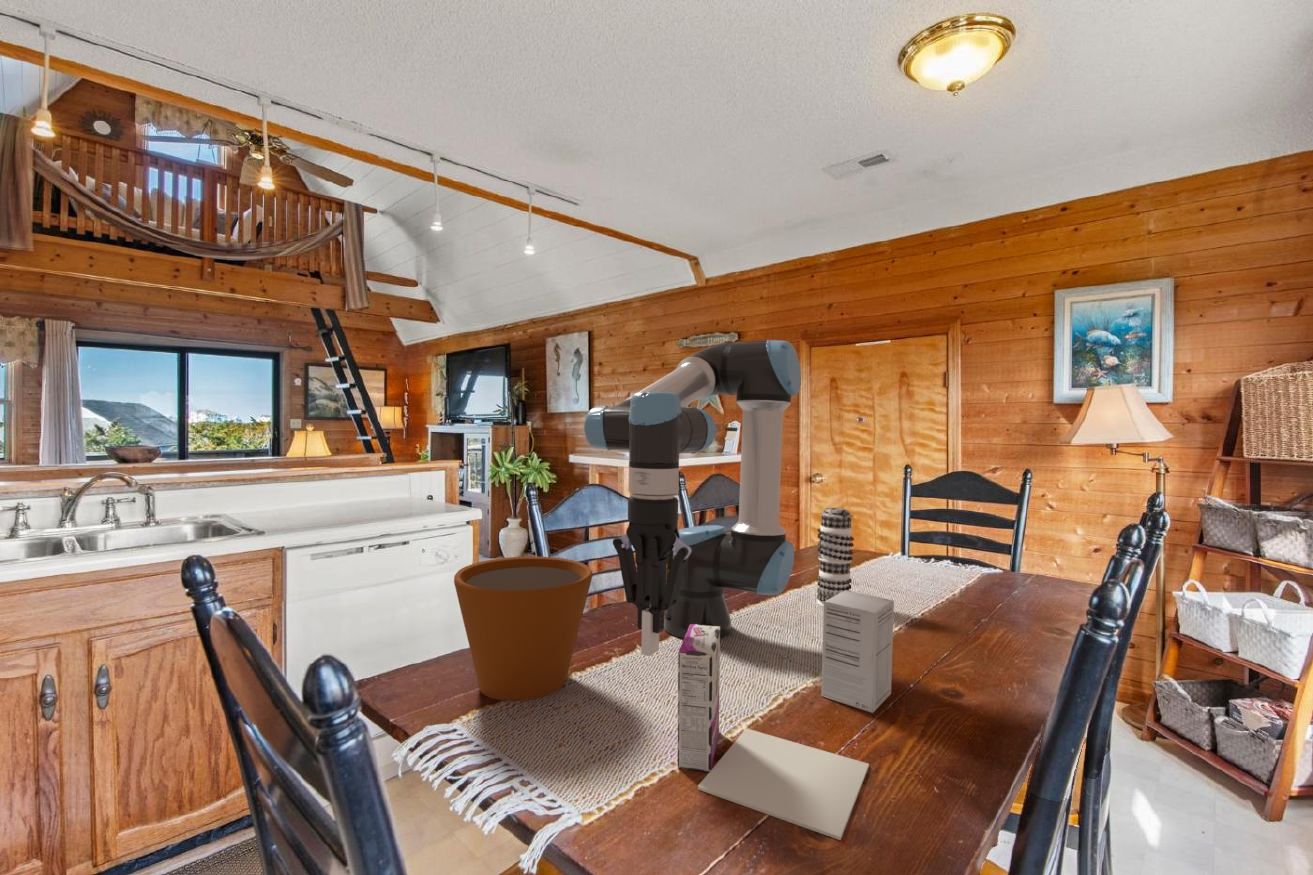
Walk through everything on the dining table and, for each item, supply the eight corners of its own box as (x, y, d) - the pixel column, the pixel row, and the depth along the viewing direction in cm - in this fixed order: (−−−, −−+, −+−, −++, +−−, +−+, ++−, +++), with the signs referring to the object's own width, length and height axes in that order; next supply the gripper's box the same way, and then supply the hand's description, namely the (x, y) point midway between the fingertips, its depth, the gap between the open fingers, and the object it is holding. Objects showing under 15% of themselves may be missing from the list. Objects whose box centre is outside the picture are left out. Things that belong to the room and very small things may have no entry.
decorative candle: (808, 600, 160) (811, 506, 159) (838, 597, 163) (841, 505, 162) (828, 611, 151) (831, 512, 150) (859, 608, 154) (862, 511, 153)
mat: (697, 789, 77) (697, 786, 77) (746, 730, 92) (746, 728, 92) (840, 840, 68) (840, 837, 68) (868, 766, 83) (868, 763, 83)
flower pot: (573, 650, 122) (575, 553, 122) (606, 702, 100) (608, 583, 100) (450, 665, 114) (451, 560, 113) (456, 726, 92) (457, 596, 91)
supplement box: (841, 679, 111) (844, 588, 111) (892, 694, 105) (895, 599, 105) (819, 696, 104) (822, 600, 103) (873, 714, 98) (876, 612, 97)
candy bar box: (687, 728, 92) (689, 622, 92) (719, 732, 91) (722, 625, 91) (674, 769, 82) (677, 649, 81) (711, 774, 81) (714, 653, 80)
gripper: (602, 494, 89) (600, 651, 90) (680, 502, 83) (676, 670, 84) (629, 490, 96) (627, 636, 97) (703, 496, 89) (700, 653, 90)
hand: (650, 651), depth 90 cm, fingers closed
